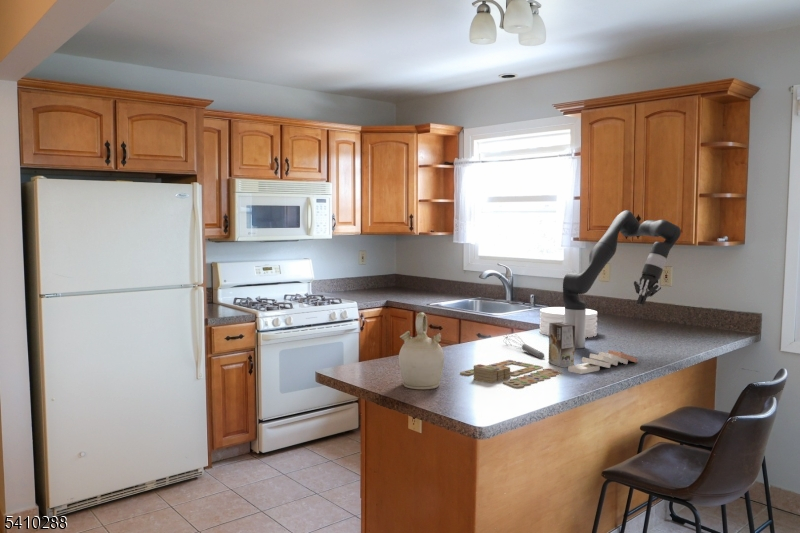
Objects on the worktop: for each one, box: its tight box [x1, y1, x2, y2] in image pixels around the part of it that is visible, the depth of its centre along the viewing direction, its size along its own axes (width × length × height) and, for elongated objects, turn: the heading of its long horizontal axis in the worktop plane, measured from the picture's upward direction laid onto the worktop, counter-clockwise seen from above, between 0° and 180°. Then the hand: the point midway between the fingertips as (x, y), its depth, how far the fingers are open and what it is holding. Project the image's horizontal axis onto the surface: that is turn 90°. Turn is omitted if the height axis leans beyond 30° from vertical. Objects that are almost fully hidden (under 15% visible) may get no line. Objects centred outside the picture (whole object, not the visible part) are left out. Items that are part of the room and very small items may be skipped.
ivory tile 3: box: [581, 356, 612, 369], centre depth 244 cm, size 2×6×11 cm
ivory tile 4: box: [567, 362, 601, 375], centre depth 241 cm, size 2×6×11 cm
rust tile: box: [607, 350, 638, 364], centre depth 254 cm, size 2×6×11 cm
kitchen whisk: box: [503, 332, 546, 360], centre depth 275 cm, size 6×34×6 cm, turn 18°
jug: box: [398, 311, 445, 391], centre depth 216 cm, size 15×16×25 cm
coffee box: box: [548, 322, 576, 368], centre depth 250 cm, size 9×6×16 cm
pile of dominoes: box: [459, 359, 563, 389], centre depth 234 cm, size 35×27×6 cm
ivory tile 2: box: [589, 353, 619, 367], centre depth 247 cm, size 2×6×11 cm
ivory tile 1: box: [598, 351, 629, 365], centre depth 251 cm, size 2×6×11 cm
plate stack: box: [539, 306, 598, 339], centre depth 322 cm, size 28×28×12 cm
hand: (639, 304), depth 266 cm, fingers closed
